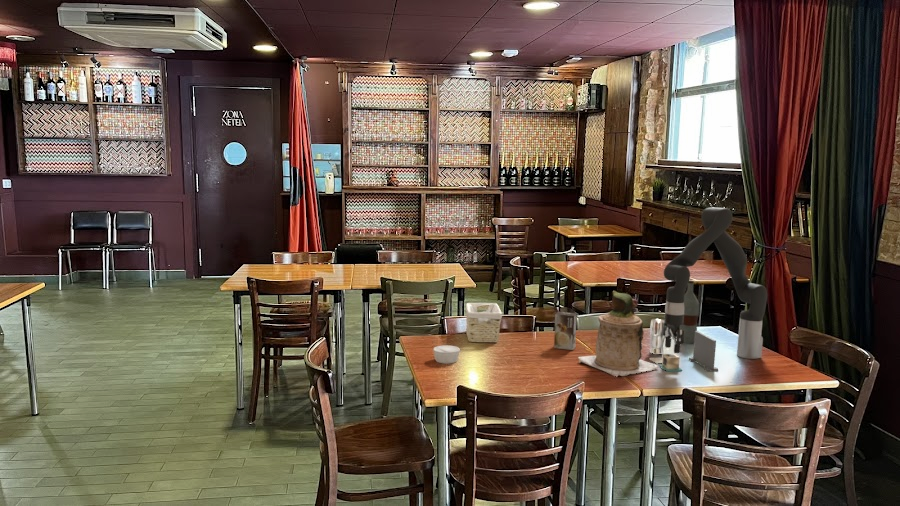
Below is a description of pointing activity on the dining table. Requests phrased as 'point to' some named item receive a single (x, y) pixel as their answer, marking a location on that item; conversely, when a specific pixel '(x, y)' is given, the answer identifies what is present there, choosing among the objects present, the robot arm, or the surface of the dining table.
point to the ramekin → (446, 354)
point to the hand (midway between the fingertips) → (672, 350)
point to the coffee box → (565, 330)
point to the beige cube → (670, 361)
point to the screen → (704, 351)
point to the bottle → (690, 314)
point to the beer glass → (657, 336)
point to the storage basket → (483, 322)
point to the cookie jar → (619, 340)
